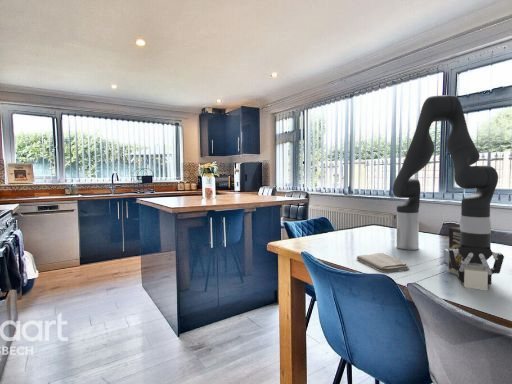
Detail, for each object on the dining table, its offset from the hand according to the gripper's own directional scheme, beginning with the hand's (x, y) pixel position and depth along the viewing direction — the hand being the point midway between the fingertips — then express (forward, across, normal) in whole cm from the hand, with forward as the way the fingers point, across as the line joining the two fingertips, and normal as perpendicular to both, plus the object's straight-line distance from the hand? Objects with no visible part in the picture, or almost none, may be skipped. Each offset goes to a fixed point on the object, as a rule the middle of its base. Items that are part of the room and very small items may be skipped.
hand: (474, 283), depth 89 cm
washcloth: (+1, -28, +12) cm, 30 cm away
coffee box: (+1, 0, +10) cm, 10 cm away
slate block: (+1, -2, +24) cm, 24 cm away
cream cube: (+1, 0, 0) cm, 1 cm away
